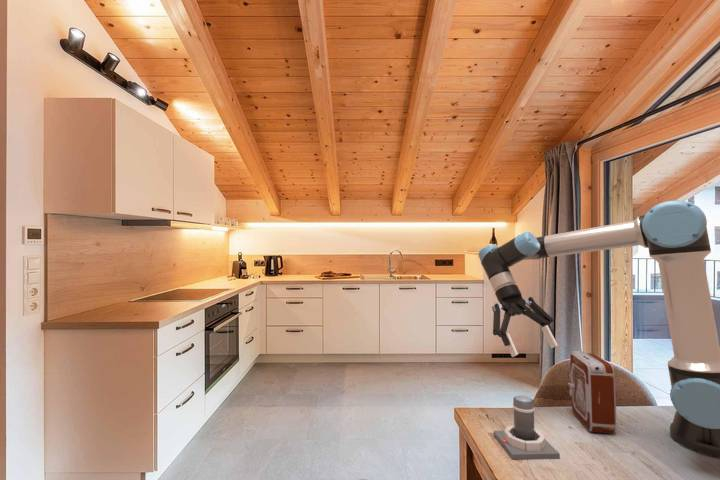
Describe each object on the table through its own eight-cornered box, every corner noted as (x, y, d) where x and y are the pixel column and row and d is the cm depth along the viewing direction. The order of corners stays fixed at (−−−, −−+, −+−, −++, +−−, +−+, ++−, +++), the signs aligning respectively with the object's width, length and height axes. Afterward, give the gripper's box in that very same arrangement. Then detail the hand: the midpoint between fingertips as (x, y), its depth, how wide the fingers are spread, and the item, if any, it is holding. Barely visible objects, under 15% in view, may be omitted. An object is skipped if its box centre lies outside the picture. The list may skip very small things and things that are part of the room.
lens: (529, 436, 98) (527, 394, 98) (539, 446, 93) (537, 402, 93) (510, 436, 98) (508, 394, 98) (519, 446, 93) (517, 402, 93)
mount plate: (535, 434, 101) (535, 422, 101) (559, 458, 89) (559, 445, 89) (493, 435, 101) (493, 423, 101) (512, 459, 89) (512, 446, 89)
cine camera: (591, 407, 118) (589, 346, 119) (622, 437, 99) (619, 364, 100) (561, 405, 120) (559, 345, 121) (586, 434, 101) (583, 363, 102)
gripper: (532, 286, 124) (563, 346, 113) (467, 299, 120) (493, 362, 109) (543, 277, 118) (577, 339, 107) (475, 289, 113) (503, 356, 102)
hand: (535, 351), depth 108 cm, fingers open, 13 cm apart
